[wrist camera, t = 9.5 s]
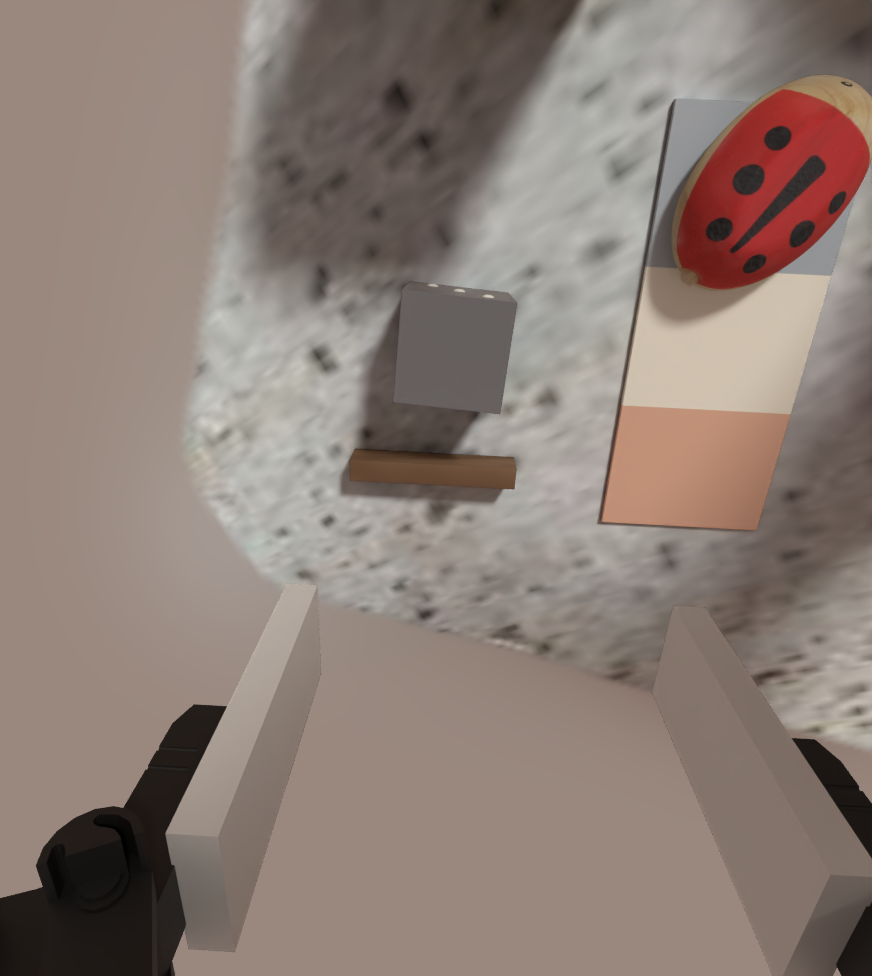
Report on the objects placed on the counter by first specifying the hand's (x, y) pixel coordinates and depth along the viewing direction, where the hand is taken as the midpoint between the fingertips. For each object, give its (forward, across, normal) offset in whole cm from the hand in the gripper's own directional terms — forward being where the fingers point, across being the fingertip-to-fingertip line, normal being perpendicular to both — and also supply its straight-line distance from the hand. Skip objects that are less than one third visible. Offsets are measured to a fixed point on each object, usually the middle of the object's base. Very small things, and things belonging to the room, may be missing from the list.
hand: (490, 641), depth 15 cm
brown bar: (+19, -2, -3) cm, 20 cm away
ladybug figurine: (+19, +12, +12) cm, 26 cm away
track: (+19, +12, +5) cm, 24 cm away
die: (+17, -1, +2) cm, 17 cm away
